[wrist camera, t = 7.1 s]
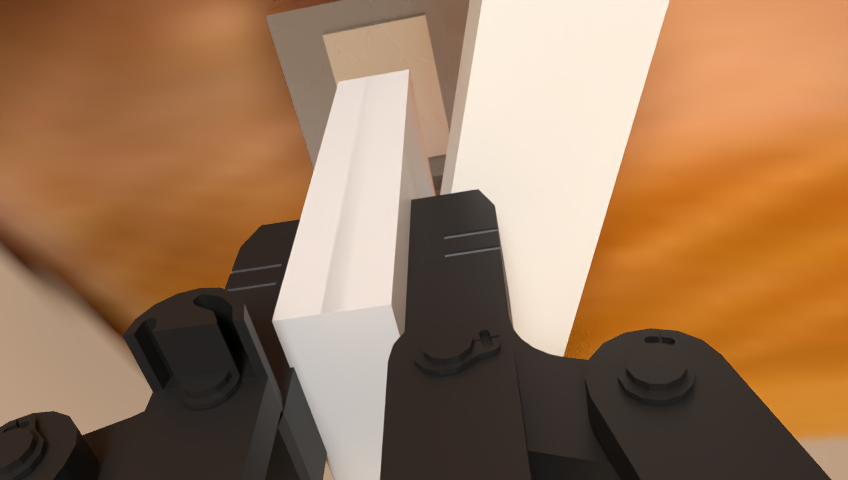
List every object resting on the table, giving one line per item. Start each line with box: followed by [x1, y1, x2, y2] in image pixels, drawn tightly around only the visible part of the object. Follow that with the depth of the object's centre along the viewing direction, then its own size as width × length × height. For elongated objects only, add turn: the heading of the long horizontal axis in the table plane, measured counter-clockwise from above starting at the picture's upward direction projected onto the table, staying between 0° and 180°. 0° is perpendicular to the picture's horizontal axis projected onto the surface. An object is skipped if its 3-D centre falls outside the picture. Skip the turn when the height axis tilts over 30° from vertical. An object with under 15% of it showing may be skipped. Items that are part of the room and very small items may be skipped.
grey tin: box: [265, 0, 470, 177], centre depth 25 cm, size 6×6×6 cm
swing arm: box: [440, 0, 669, 357], centre depth 13 cm, size 25×4×3 cm, turn 173°
